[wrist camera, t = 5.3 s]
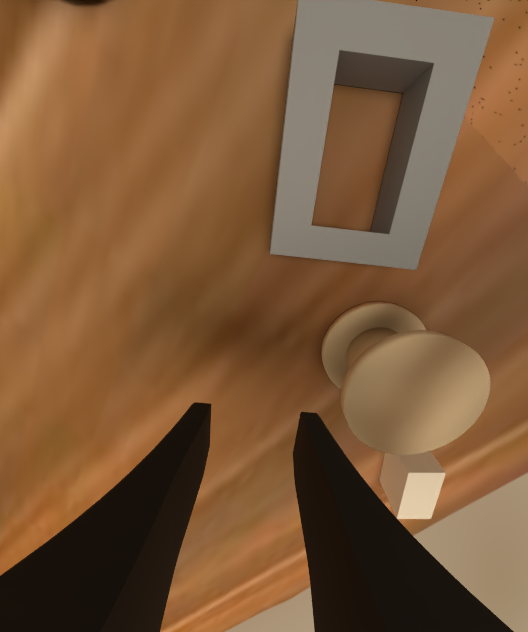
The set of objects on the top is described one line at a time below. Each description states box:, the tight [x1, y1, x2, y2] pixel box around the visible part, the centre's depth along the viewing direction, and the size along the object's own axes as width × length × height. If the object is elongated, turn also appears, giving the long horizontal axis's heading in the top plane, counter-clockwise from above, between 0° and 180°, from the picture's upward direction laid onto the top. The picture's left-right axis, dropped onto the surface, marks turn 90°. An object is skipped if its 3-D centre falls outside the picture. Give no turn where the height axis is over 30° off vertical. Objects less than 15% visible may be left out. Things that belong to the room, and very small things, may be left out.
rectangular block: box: [379, 451, 446, 519], centre depth 20 cm, size 3×5×3 cm, turn 0°
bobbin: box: [321, 301, 490, 455], centre depth 15 cm, size 7×7×6 cm
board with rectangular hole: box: [269, 0, 494, 270], centre depth 13 cm, size 8×10×2 cm
